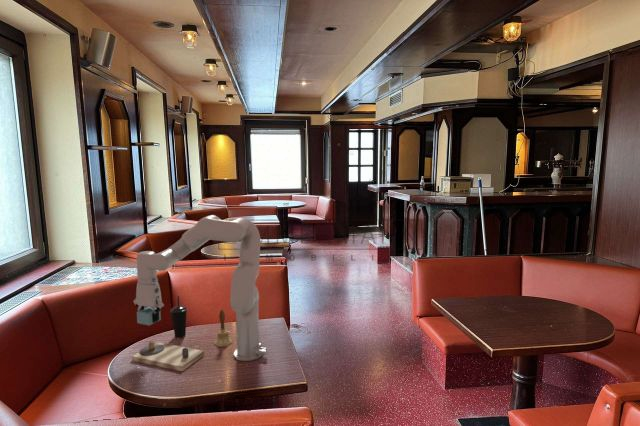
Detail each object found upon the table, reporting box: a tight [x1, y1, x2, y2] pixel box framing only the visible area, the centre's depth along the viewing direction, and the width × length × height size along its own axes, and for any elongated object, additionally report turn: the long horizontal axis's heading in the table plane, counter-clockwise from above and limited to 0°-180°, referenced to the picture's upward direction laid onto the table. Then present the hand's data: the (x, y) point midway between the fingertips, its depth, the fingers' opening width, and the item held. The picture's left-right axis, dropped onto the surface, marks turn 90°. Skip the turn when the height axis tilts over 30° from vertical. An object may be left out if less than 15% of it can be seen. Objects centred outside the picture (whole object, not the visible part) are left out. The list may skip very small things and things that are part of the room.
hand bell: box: [213, 309, 233, 348], centre depth 174 cm, size 8×8×16 cm
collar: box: [136, 307, 162, 326], centre depth 162 cm, size 7×7×5 cm
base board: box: [131, 340, 205, 372], centre depth 161 cm, size 27×14×6 cm, turn 70°
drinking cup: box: [170, 295, 188, 339], centre depth 181 cm, size 8×8×20 cm
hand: (149, 319), depth 162 cm, fingers closed on collar, 6 cm apart
